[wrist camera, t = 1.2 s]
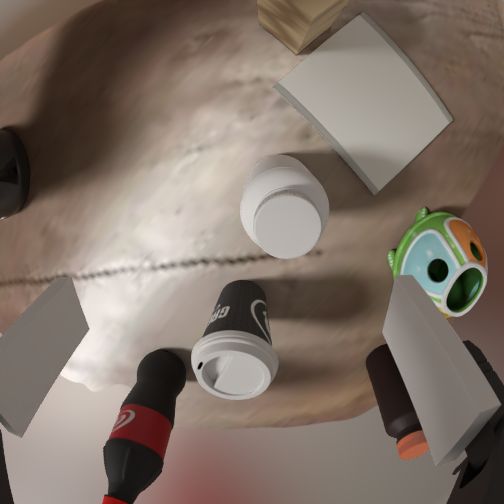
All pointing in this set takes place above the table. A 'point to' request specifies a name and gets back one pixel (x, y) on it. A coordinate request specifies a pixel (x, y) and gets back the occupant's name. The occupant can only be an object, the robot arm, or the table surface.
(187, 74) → the table surface
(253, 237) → the pill bottle
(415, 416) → the vinegar
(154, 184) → the table surface
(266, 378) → the coffee cup
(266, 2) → the oak block
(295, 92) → the shallow grey tray
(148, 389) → the cola bottle
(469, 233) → the turtle holder
